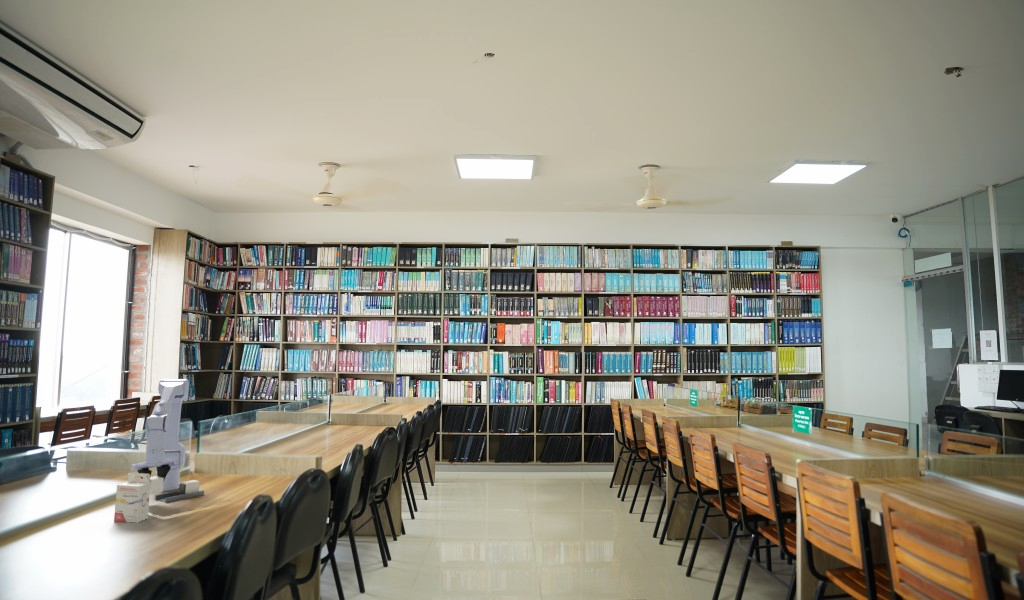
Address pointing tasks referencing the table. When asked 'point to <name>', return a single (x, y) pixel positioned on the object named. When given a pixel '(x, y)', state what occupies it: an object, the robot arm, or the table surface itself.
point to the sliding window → (177, 496)
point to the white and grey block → (188, 486)
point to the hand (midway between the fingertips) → (152, 488)
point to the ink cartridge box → (132, 499)
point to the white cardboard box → (156, 484)
